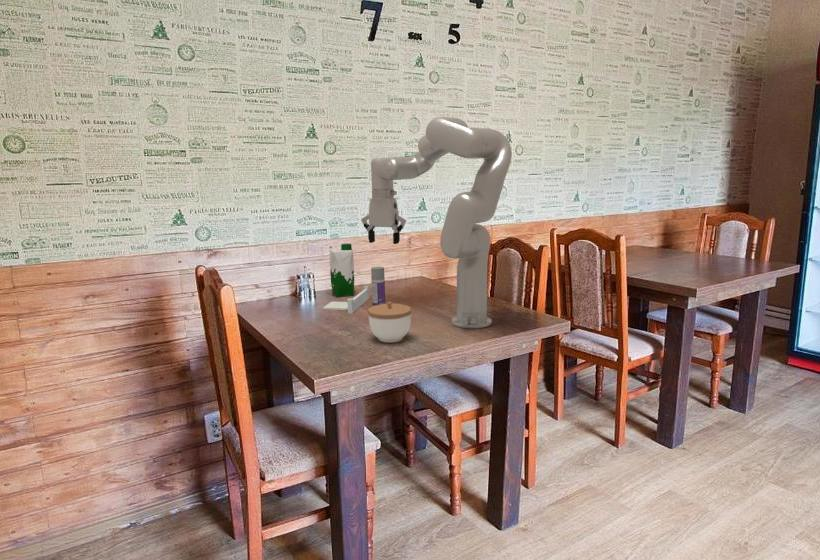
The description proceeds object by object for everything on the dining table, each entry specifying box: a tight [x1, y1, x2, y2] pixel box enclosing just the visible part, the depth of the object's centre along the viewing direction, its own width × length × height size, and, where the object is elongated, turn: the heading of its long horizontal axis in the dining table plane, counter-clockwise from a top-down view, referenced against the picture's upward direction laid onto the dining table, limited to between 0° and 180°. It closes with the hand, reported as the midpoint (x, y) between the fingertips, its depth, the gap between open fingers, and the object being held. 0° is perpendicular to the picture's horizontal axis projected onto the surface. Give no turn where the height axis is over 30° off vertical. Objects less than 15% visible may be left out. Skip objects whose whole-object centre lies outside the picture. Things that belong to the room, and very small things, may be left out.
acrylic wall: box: [346, 285, 370, 315], centre depth 200 cm, size 22×2×5 cm, turn 168°
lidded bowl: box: [367, 301, 412, 344], centre depth 161 cm, size 13×13×11 cm
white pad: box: [322, 301, 348, 311], centre depth 200 cm, size 9×9×1 cm
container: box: [370, 266, 386, 307], centre depth 194 cm, size 5×5×15 cm
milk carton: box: [329, 243, 355, 298], centre depth 217 cm, size 9×9×20 cm
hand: (383, 242), depth 196 cm, fingers open, 9 cm apart
